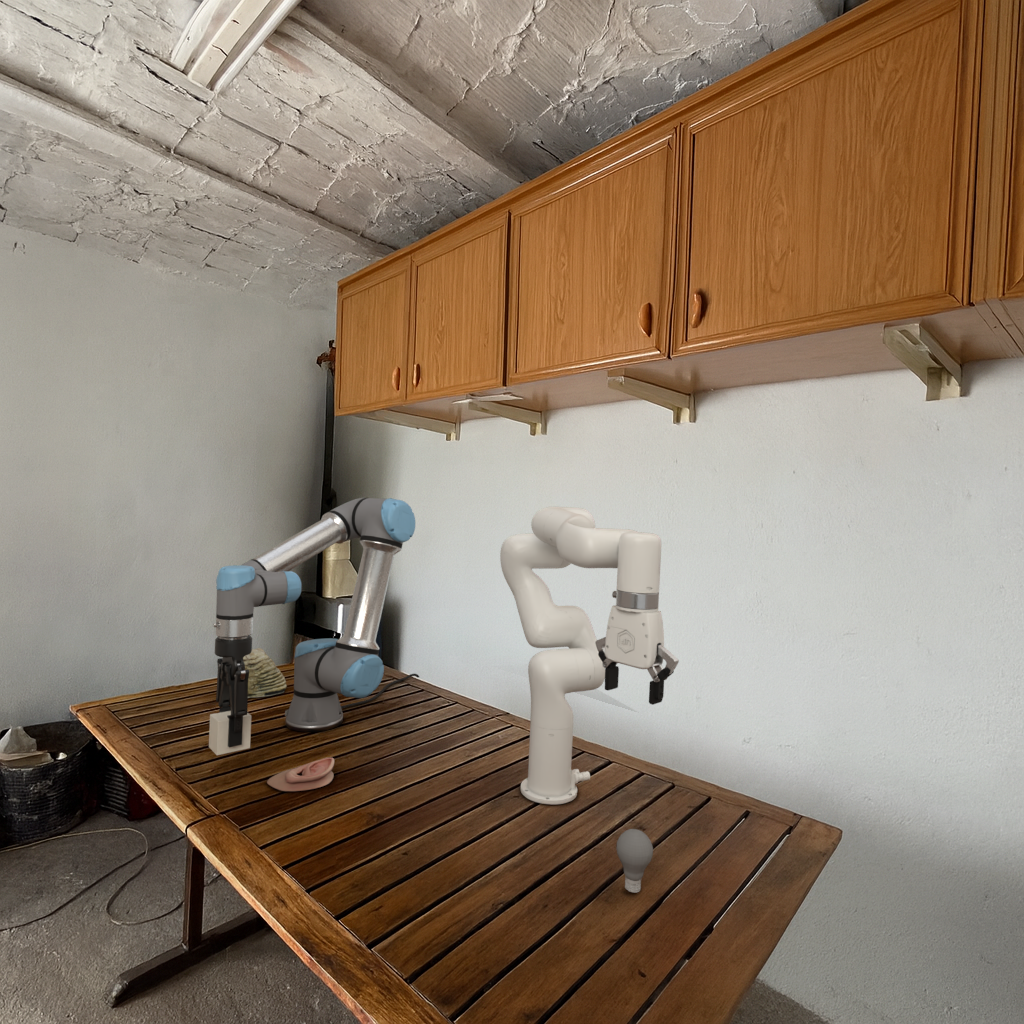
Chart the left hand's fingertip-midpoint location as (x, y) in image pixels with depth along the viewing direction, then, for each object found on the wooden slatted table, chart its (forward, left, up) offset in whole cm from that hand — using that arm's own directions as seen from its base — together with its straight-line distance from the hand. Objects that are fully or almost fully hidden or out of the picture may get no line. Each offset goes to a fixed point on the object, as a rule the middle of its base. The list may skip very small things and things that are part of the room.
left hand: (229, 740), depth 140 cm
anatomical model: (-10, +12, -9) cm, 18 cm away
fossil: (-34, -50, -9) cm, 62 cm away
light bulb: (-25, +86, -9) cm, 90 cm away
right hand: (-32, +81, +22) cm, 90 cm away
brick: (0, 0, -2) cm, 2 cm away
